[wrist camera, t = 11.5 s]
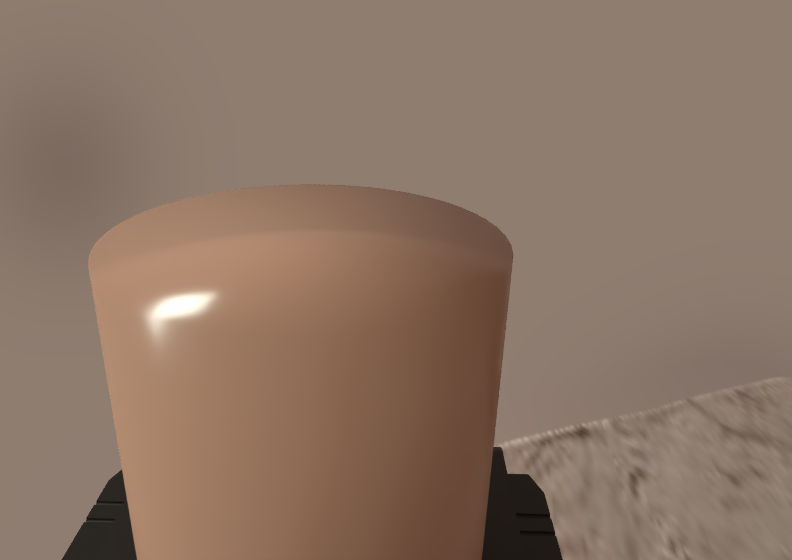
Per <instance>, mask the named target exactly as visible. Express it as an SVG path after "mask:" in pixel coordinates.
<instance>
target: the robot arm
mask: <svg viewBox="0 0 792 560" xmlns="http://www.w3.org/2000/svg"><path fill="white" fill-rule="evenodd" d="M62 560H137V556H136V550H135V544H134V538H133V532H132V526H131V520H130V514H129V508H128V502H127V496H126V490H125V484H124V478H123V472H122V470H121V471H119V473H117V474H116V475H115V476H113V477H112V478H111V479H110V480H109V481H108V483H107V484H106V486H105V488H104V489H103V491H102V493H101V494H100V496H99V498H98V500H97V503H96V505H94V506H93V508H92V509H91V511H90V513H89V515H88V516H87V520H86V522H84V523H83V525H82V526H81V528H80V530H79V532H78V533H77V535H76V536H75V538H74V540H73V542H72V543H71V545H70V547H69V548H68V550H67V552H66V553H65V555H64V557H63V558H62ZM482 560H563V559H562V556H561V552H560V548H559V545H558V541H557V538H556V536H555V530H554V527H553V523H552V520H551V519H550V512H549V509H548V505H547V502H546V498H545V494H544V492H543V491H542V490H541V489H540V488H539V486H538V485H537V484H536V483H535V482H534V481H533V479H532V478H531V477H530V476H529V475H528V474H507V470H506V465H505V461H504V456H503V452H502V448H501V447H493V455H492V465H491V475H490V484H489V494H488V504H487V513H486V523H485V533H484V542H483V552H482Z"/></svg>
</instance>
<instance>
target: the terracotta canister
mask: <svg viewBox="0 0 792 560" xmlns="http://www.w3.org/2000/svg"><path fill="white" fill-rule="evenodd" d="M512 262H513V251H512V247H511V244H510V243H509V241H508V239H507V237H506V236H505V235H504V234H503V233H502V232H501V231H500V230H499V229H498V228H497V227H496V226H494V225H493V224H492V223H490V222H489V221H487V220H486V219H484V218H482V217H480V216H478V215H477V214H475V213H473V212H470V211H468V210H465V209H463V208H461V207H458V206H455V205H453V204H449V203H447V202H444V201H440V200H436V199H433V198H429V197H424V196H420V195H416V194H411V193H406V192H400V191H394V190H386V189H379V188H371V187H359V186H345V185H311V184H306V185H278V186H263V187H252V188H243V189H235V190H228V191H221V192H215V193H210V194H204V195H200V196H195V197H191V198H186V199H182V200H178V201H175V202H171V203H168V204H164V205H161V206H159V207H156V208H153V209H150V210H147V211H145V212H142V213H140V214H138V215H135V216H133V217H131V218H129V219H127V220H126V221H124V222H122V223H120V224H118V225H116V226H115V227H114V228H112V229H111V230H109V231H108V232H107V233H105V234H104V235H103V236H102V237H101V238H100V239H99V240H98V241H97V242H96V244H95V245H94V247H93V249H92V250H91V252H90V255H89V259H88V267H89V273H90V279H91V285H92V291H93V297H94V303H95V309H96V315H97V321H98V327H99V333H100V340H101V346H102V351H103V358H104V364H105V369H106V375H107V381H108V388H109V394H110V400H111V406H112V411H113V417H114V423H115V430H116V436H117V442H118V448H119V454H120V460H121V466H122V472H123V478H124V484H125V490H126V496H127V502H128V508H129V514H130V520H131V526H132V532H133V538H134V544H135V550H136V556H137V560H482V552H483V542H484V533H485V523H486V513H487V504H488V494H489V484H490V475H491V465H492V455H493V446H494V436H495V426H496V417H497V406H498V397H499V387H500V378H501V368H502V359H503V348H504V340H505V330H506V320H507V311H508V301H509V291H510V282H511V272H512Z"/></svg>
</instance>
